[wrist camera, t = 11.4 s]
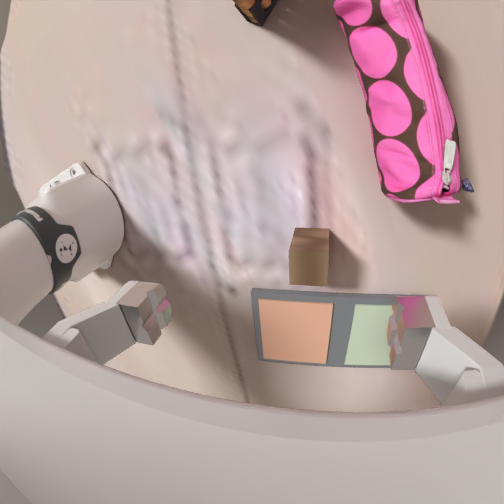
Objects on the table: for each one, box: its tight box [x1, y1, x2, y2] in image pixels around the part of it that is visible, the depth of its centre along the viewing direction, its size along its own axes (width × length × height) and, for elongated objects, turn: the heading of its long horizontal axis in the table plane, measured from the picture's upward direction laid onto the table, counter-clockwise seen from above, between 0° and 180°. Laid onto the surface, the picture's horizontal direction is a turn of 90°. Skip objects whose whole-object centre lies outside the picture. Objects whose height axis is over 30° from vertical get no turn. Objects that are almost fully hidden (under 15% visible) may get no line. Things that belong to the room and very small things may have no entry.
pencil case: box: [333, 0, 474, 204], centre depth 18 cm, size 21×10×10 cm, turn 18°
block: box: [289, 228, 329, 286], centre depth 31 cm, size 4×4×6 cm
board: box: [251, 288, 423, 368], centre depth 38 cm, size 25×14×1 cm, turn 95°
